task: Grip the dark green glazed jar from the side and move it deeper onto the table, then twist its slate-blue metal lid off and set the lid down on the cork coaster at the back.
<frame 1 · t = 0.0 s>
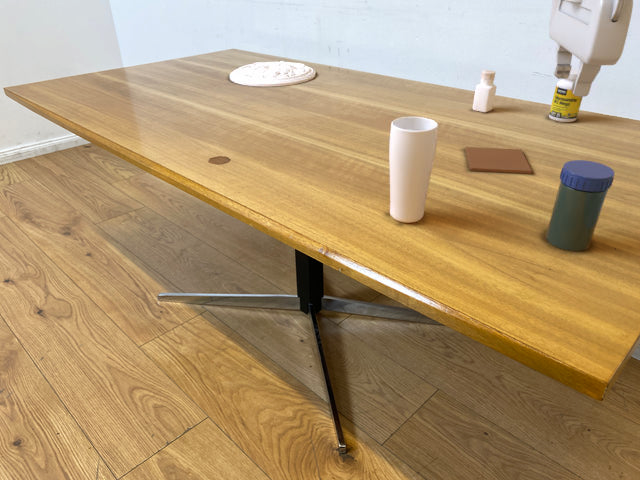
hand: (569, 85, 66), 20 cm above the table, tool pointing down, fingers open, 8 cm apart
coaster: (496, 161, 95), on the table
white corked bottle: (482, 110, 123), on the table
lid: (587, 171, 64), point 11 cm above the table, screwed on, not yet turned
jar: (567, 240, 70), on the table
pill bottle: (562, 119, 116), on the table
ceiling medallion: (273, 76, 159), on the table
drinking glass: (406, 217, 77), on the table
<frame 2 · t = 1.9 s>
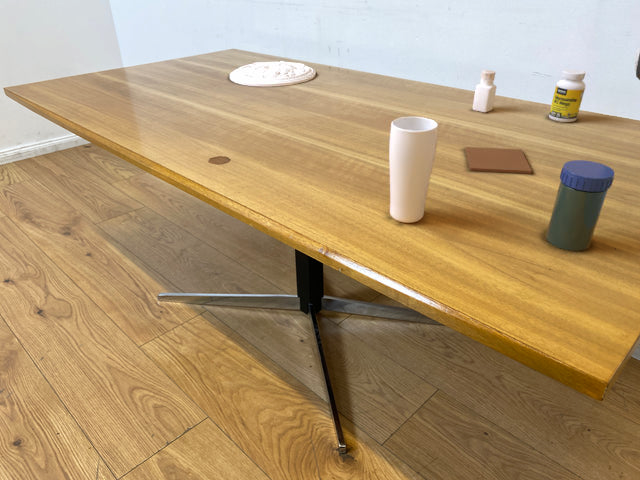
nothing on the table moved.
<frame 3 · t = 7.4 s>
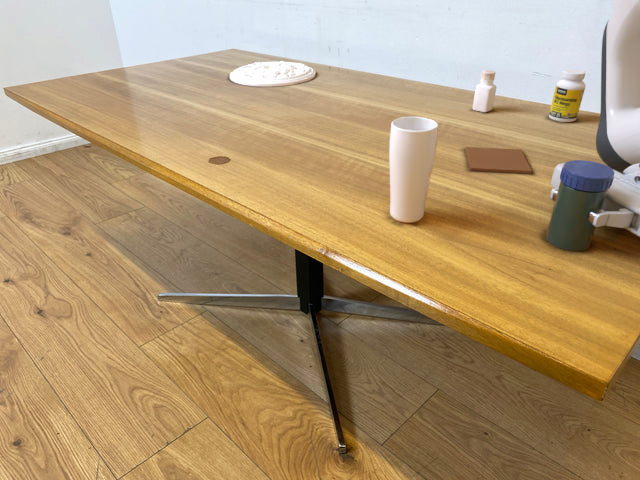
hand: (572, 207, 66), 6 cm above the table, tool horizontal, fingers closed on jar, 6 cm apart
jar: (567, 240, 70), on the table, touching gripper
everything else where it was.
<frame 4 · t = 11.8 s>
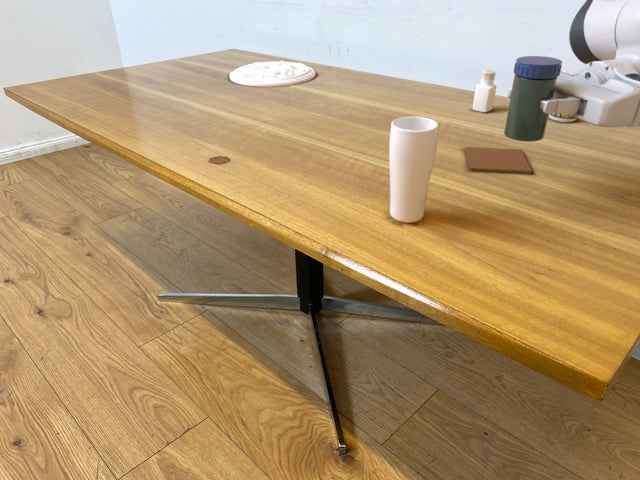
hand: (526, 100, 72), 17 cm above the table, tool horizontal, fingers closed on jar, 6 cm apart
lid: (538, 63, 69), point 22 cm above the table, screwed on, not yet turned
jar: (523, 135, 75), point 11 cm above the table, touching gripper
everything else where it was.
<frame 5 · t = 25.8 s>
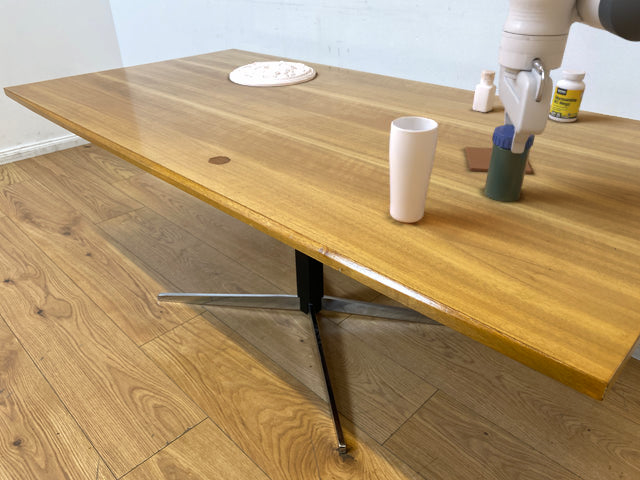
hand: (512, 143, 78), 9 cm above the table, tool pointing down, fingers closed on lid, 6 cm apart
lid: (514, 133, 77), point 11 cm above the table, screwed on, not yet turned, touching gripper
jar: (501, 193, 83), on the table
everything else where it was.
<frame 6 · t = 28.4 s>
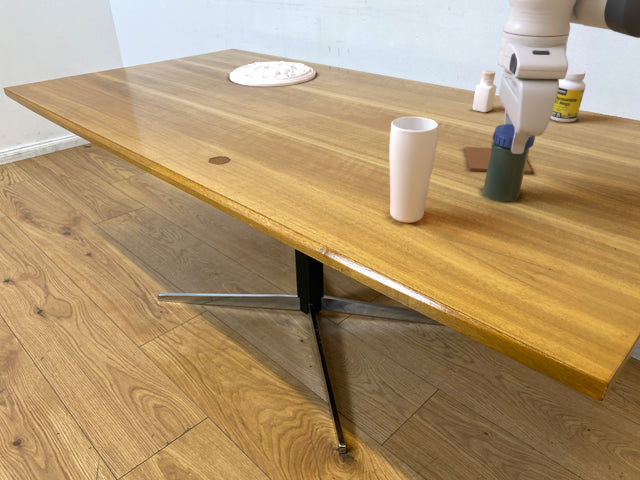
hand: (512, 143, 78), 9 cm above the table, tool pointing down, fingers closed on lid, 6 cm apart
lid: (514, 133, 77), point 11 cm above the table, off its thread, touching gripper
jar: (500, 194, 83), on the table, touching gripper
everything else where it was.
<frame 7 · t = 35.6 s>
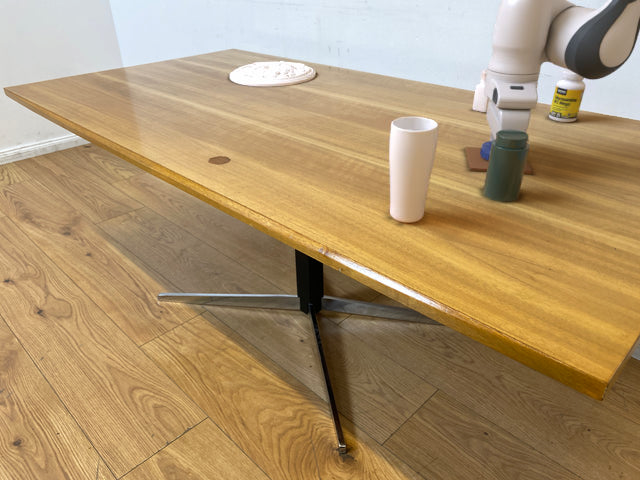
hand: (496, 157, 95), 1 cm above the table, tool pointing down, fingers closed on coaster, lid, 6 cm apart
lid: (498, 149, 94), point 2 cm above the table, off its thread, touching gripper
jar: (500, 194, 83), on the table
everything else where it was.
when the fingers open (2 cm above the table, at t = 49.1 s): lid drops 2 cm, resting on coaster.
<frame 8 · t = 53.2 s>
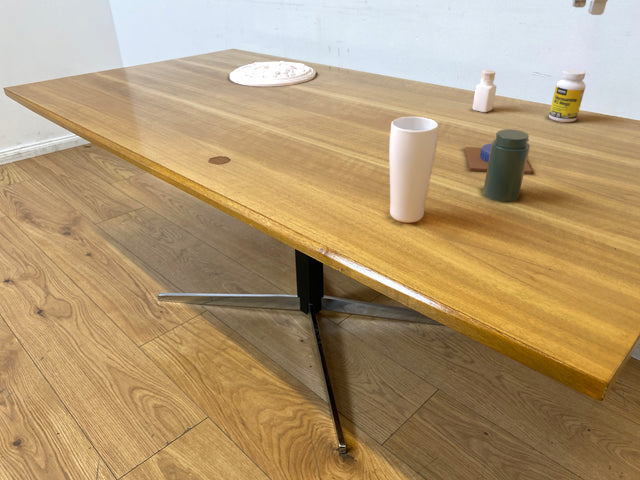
hand: (586, 10, 78), 27 cm above the table, tool pointing down, fingers open, 8 cm apart
lid: (497, 151, 94), point 2 cm above the table, off its thread, touching coaster
everything else where it was.
at the end: lid inside the target area on the coaster (0.1 cm from its centre), point 2.1 cm above the coaster's base; the gripper is holding nothing; jar inside the target area (0.3 cm from its centre), on the table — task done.
